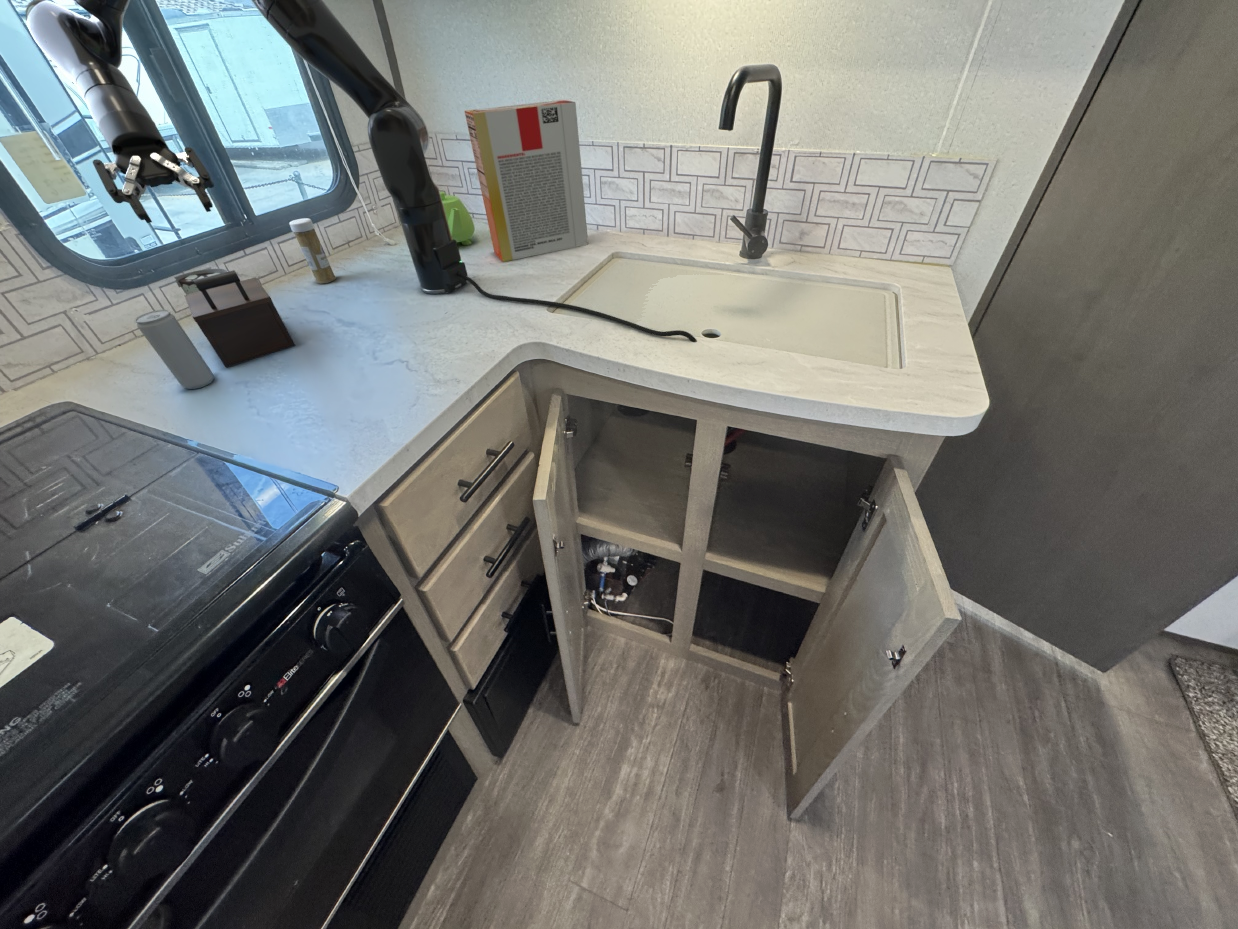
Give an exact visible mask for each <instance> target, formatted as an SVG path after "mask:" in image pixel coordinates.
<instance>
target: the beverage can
mask: <svg viewBox="0 0 1238 929" xmlns="http://www.w3.org/2000/svg"><path fill="white" fill-rule="evenodd" d="M134 323H135V324H136V327H137V328H138V329H139V331H140V333H141V334H142V335H143V337H144V338H145V339H146V340H147V342H148V344H150V346H151V347H152V348H153V350H154V351H155V352H156V354H157V355H158V356H159V358H160V360H162V362H163V363H164V364H165V366H166V367H167V369H168V370H169V372H170V373H171V374H172V375H173V377H174V378H175V380H176V381H177V382H178V384H179V385H180V386H181V387H182V388H184V389H188V390H196V389H200V388H204V387H207V386H208V385H210V384H212V383H213V381H214V378H215V375H214V373H213V371H212V370H211V369H210V367H209V366H208V364H207V362H206V361H205V360H204V358H203V356H202V355H201V354H200V352H199V351H198V349H197V347H196V346H195V345H194V343H193V342H192V340H191V338H190V337H189V336H188V334H187V333H186V331H185V329H184V328H183V327H182V325H181V324H180V322H179V321H178V320H177V317H176V316H175V315H174V314H173V313H171V311H170V310H169V309H157V310H151V311H148V312H145V313H142V314H140V315H139V316H137V317H136V318H135V319H134Z"/></svg>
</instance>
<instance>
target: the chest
mask: <svg viewBox="0 0 1238 929" xmlns="http://www.w3.org/2000/svg"><path fill="white" fill-rule="evenodd" d="M195 323H196V324H197V326H198V327H199V329H200V330H201V332H202V334H203V335H204V337H205V338H206V340H207V341H208V342H209V344H210V346H211V348H212V349H213V351H214V352H215V354H216V355H217V356H218V358H219V359H220V361H221V363H222V364H223V366H224V367H225V368H230V367H232V366H236V365H239V364H242V363H246V362H248V361H252V360H254V359H258V358H260V357H265V356H267V355H269V354H274V353H276V352H279V351H282V350H286V349H289V348H292V347H296V344H295V341H294V340H293V338H292V336H291V334H290V332H289V330H288V328H287V327H286V326H287V325H285V323H284V321H283V319H282V317H281V315H280V313H279V311H278V309H277V308H276V306H275V304H274V301H273V300H272V301H270V302H267V303H263V304H259V305H256V306H252V307H248V308H245V309H241V310H238V311H234V312H230V313H227V314H223V315H219V316H216V317H212V318H208V319H205V320H201V321H198V322H195Z"/></svg>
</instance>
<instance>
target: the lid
mask: <svg viewBox="0 0 1238 929" xmlns="http://www.w3.org/2000/svg"><path fill="white" fill-rule="evenodd" d="M193 281H194V283H195V285H196V286H197V288H198V290H199V292H195V293H192V294H188V295H186V294H184V298H185V301H186V303H187V306H188V309H189V311H190V314H191V316H192V319H193V320H194V322H195V323H196V322H198V321H201V320H205V319H208V318H212V317H216V316H219V315H223V314H227V313H230V312H234V311H238V310H241V309H245V308H248V307H252V306H256V305H259V304H263V303H267V302H270V301H272V302H273V300H272V297H271V296H270V295H269V293H268V292H267V291H266V289H265V288H264V287H263V285H262V284H261V283H260V282H259V280H258V279H257V277H252V278H248V279H247V278H246V279H244V280H241V279H240V277H239V275H238V274H237V272H236V270H234V269H233V270H229V271H228V272H225V273H220V274H216V275H212V276H208V277H204V278H200V279H196V280H193Z"/></svg>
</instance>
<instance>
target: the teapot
mask: <svg viewBox="0 0 1238 929" xmlns="http://www.w3.org/2000/svg"><path fill="white" fill-rule="evenodd" d="M439 191H440V190H439ZM440 195H441V199H442V202H443V206H444V210H445V214H446V218H447V222H448V225H449V229H450V233H451V237H452V239H455V240H456V242H457V243H461V244H462V246H469V245H471V244H472V241H471V240H470V239H472V238H473V236H474V234H475V229H476V228H475V224H474V221H473V218H472V215H471V213H470V212H469V210H468V208H467V207H466V206H465V204H464V203H463V202H462V200H461V199H460V198H459V197H458V196H455V195H451V194H449V195H448V194H447V195H446V192H445V191H443V190H442V191H440Z"/></svg>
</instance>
